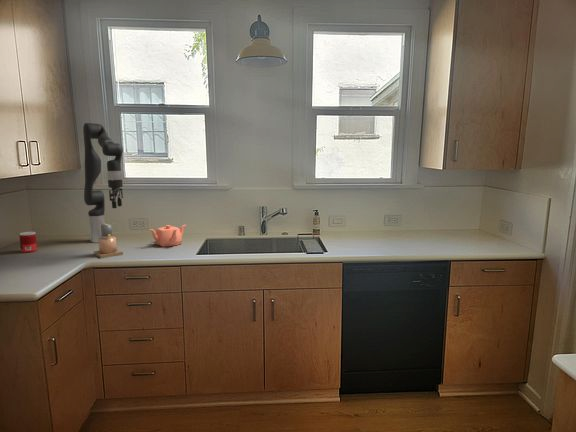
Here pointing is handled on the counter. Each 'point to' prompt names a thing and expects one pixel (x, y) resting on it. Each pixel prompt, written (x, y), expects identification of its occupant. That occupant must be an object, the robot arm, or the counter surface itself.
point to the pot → (168, 235)
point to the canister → (107, 247)
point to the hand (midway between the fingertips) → (117, 207)
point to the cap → (106, 230)
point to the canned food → (28, 242)
